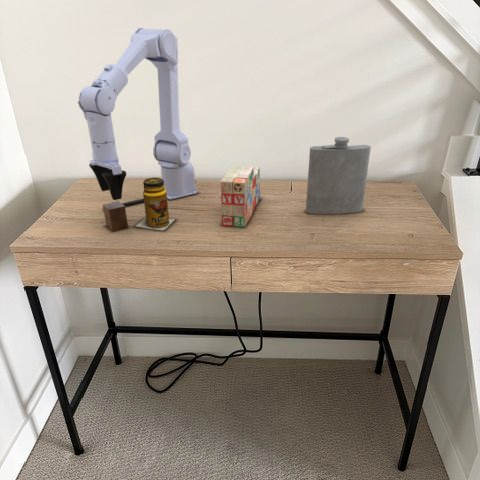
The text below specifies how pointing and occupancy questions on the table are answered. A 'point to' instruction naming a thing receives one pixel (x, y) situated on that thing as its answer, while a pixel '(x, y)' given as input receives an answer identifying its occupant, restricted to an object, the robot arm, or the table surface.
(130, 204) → the serving spoon
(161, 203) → the condiment
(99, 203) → the table surface
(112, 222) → the walnut block
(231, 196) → the stack of blocks
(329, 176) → the hip flask
